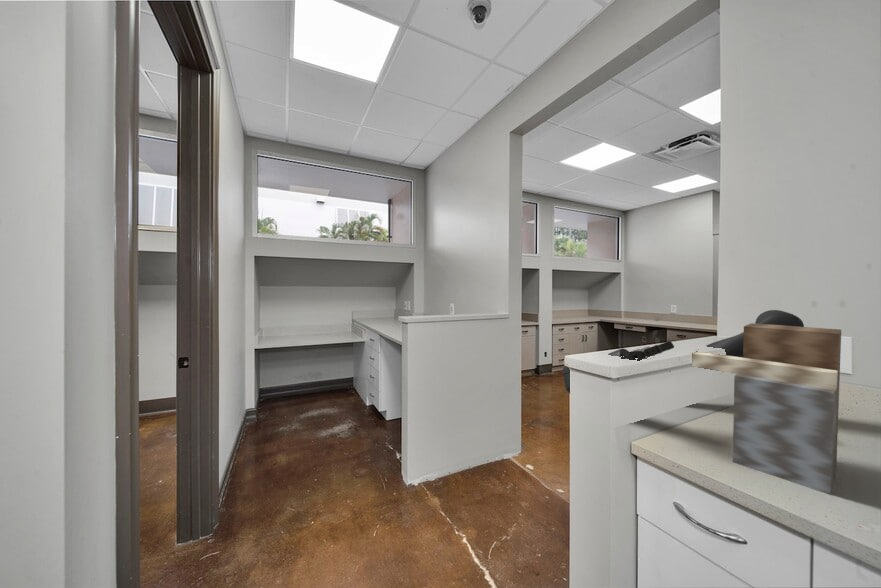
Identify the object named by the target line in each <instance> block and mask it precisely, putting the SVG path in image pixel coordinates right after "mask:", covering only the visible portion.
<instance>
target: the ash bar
mask: <svg viewBox="0 0 881 588" xmlns="http://www.w3.org/2000/svg"><path fill="white" fill-rule="evenodd" d="M695 351H696V352H695ZM695 351H693V352H694V353H693V352H691V353H692V366H693V367H698V368H704V369H710V370H716V371H722V373H729V374H734V375H736V374H740V375H746V376H752V377H758V378H764V379H770V380H776V381H781V382H787V383H793V384H799V385H805V386H811V387H817V388H823V389H829V390H835V391H836V389H837V376H838V371H837V370H830V369H823V368H815V367H808V366H801V365H793V364H786V363H779V362H771V361H764V360H757V359H749V358H742V357H735V356H727V355H720V354H713V353H705V352H698V351H697V350H695Z"/></svg>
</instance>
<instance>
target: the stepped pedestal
mask: <svg viewBox="0 0 881 588" xmlns="http://www.w3.org/2000/svg"><path fill="white" fill-rule="evenodd" d="M743 332H744V341H743V358H749V359H757V360H764V361H771V362H779V363H786V364H793V365H801V366H808V367H815V368H823V369H830V370H837V371H838V376H837V389H836V391H835V390H829V389H823V388H817V387H811V386H805V385H799V384H793V383H787V382H781V381H776V380H770V379H764V378H758V377H752V376H746V375H740V374H734V377H733V378H734V379H733V381H734V385H733V425H732V426H733V431H732V436H733V437H732V462H733V463H735V464H738V465H741V466H744V467H748V468H750V469H753V470H756V471H759V472H762V473H765V474H769V475H771V476H774V477H777V478H780V479H782V480H786V481H789V482H791V483H795V484H798V485H800V486H804V487H806V488H808V489H809V488H810V489H813V490H816V491H819V492H820V493H825V494H827V495H831V494H832V488H833V483H834V480H835V476H836V475H835V474H836V470H837V464H838V463H837V462H838V460H837V459H838V457H837V456H838V436H839V435H838V432H839V406H840V402H839V401H840V376H841V374H840V373H841V353H842V352H841V350H842V349H841V347H842V329H839V328H838V329H837V328H824V327H812V326H811V327H810V326H804V327H798V326H784V325H770V324H756V323H754V322H751V323H749V324H746V325H744V326H743Z"/></svg>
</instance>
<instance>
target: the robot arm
mask: <svg viewBox="0 0 881 588" xmlns="http://www.w3.org/2000/svg"><path fill="white" fill-rule="evenodd" d="M754 322H755V323H756V324H770V325H784V326H798V327H805V326H804V325H805V324H804V322H803V320H802V319H801V318H800V317H798V316H797V315H795V314H793V313H789V312H788V311H784V310H780V309H779V310H778V309H771V310H770V309H769V310H767V311H766V310H765V311H764V312H761V313H760V314H759V315H758V316H757V317H756V319H755V321H754ZM743 341H744V331H743V332H741V333H739V334H736V335H733V336H730V337H727V338H723V339H721V340H717V341H714V342H712V343H709V344H706V345H705V346H707V347H713V348H722V349H725V352H726V355H727V356H735V357H742V358H743ZM674 348H675V345H674V344H673V342H672V341H671V340H668V341H666V342H663V343H660V344H655V345H653V346H649V345H648V346H645V347H643V348H637V349H634V350H630V351H629V350H628V349H626V348H619V349H617V350H614V351H612V352H609V353H607V354H608V355H611V356H619V357H621V356H622V357H621V359H629V360H636V359H635V358H638V359H637V361H640V360H642V359H647V358H648V357H650V356H655V357H656V355H659V354H662V353H664V352H666V351H669V350H672V349H674ZM623 356H624V357H623ZM647 360H648V359H647ZM561 373H562V378H563V379H562V380H563V384H564V388H565V390H566V391H567V393H569V394H571V393H570V370H569V368H568V367H567V366H566V365H565V366H563V368H562V372H561Z"/></svg>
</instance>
